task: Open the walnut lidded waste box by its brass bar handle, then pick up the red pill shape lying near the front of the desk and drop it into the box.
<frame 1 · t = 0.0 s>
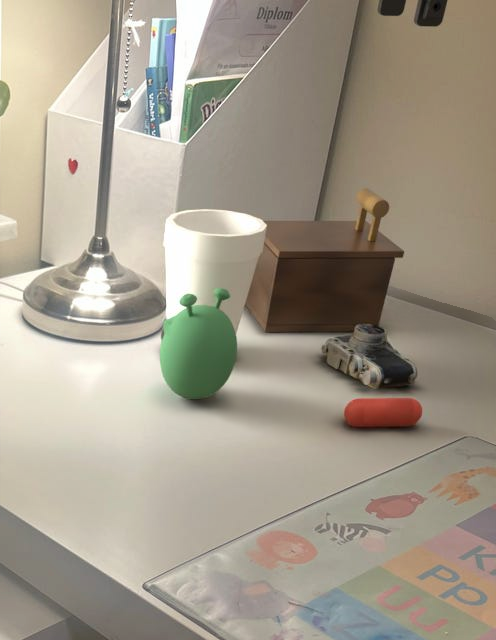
hand: (407, 20, 85), 29 cm above the table, tool pointing down, fingers open, 8 cm apart
camera: (365, 374, 98), on the table
red pill shape: (379, 425, 88), on the table
bin lid: (328, 218, 105), point 10 cm above the table, hinge at 0.0°
bin: (305, 313, 111), on the table
foam cup: (198, 356, 101), on the table
alien toy: (189, 396, 93), on the table
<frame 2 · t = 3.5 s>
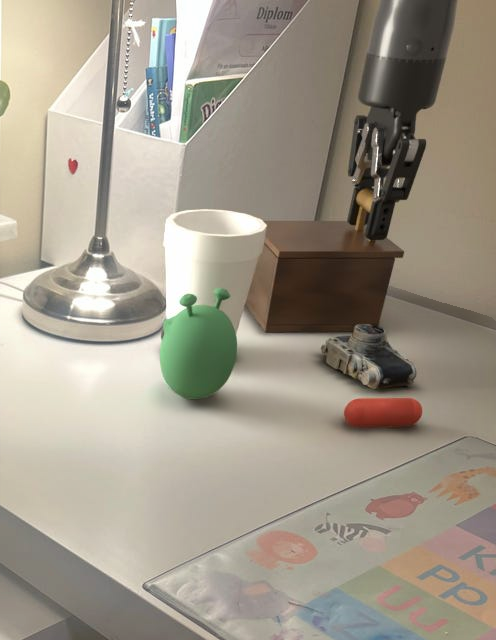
hand: (366, 230, 106), 9 cm above the table, tool pointing down, fingers closed on bin lid, 5 cm apart
bin lid: (328, 218, 105), point 10 cm above the table, hinge at 0.0°, touching gripper
everything else where it was.
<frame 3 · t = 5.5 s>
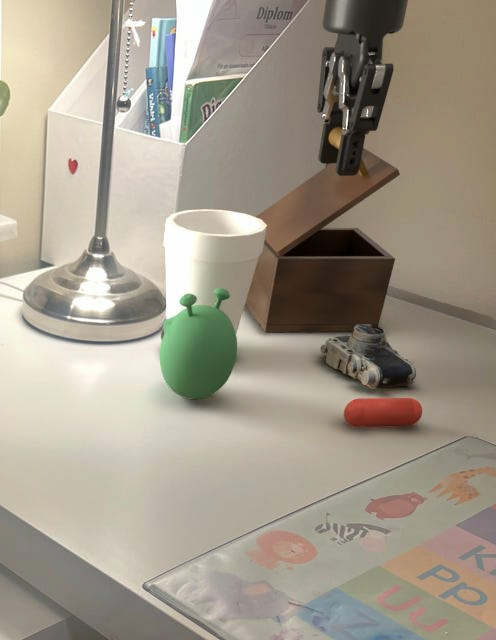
hand: (337, 167, 102), 15 cm above the table, tool pointing down, fingers closed on bin lid, 5 cm apart
bin lid: (311, 182, 103), point 14 cm above the table, hinge at 36.7°, touching gripper
everything else where it was.
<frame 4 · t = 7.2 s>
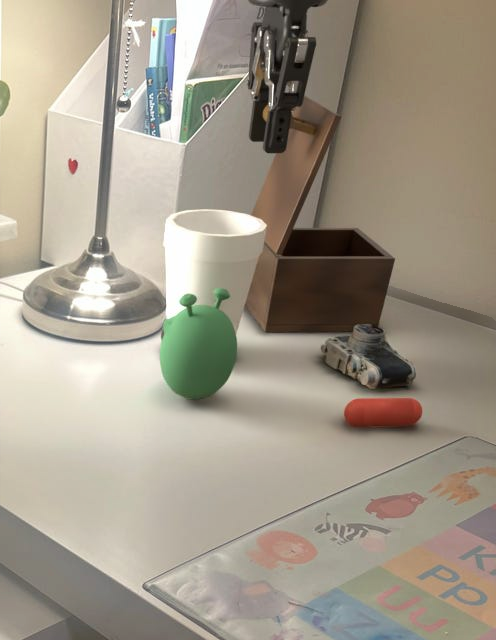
hand: (266, 145, 100), 17 cm above the table, tool pointing down, fingers closed on bin lid, 5 cm apart
bin lid: (272, 168, 101), point 15 cm above the table, hinge at 75.0°, touching gripper
everything else where it was.
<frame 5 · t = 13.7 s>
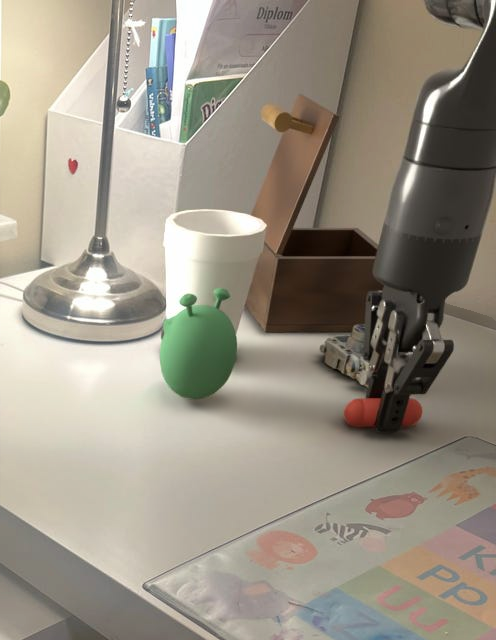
hand: (380, 422, 88), 0 cm above the table, tool pointing down, fingers closed on red pill shape, 2 cm apart
red pill shape: (379, 425, 88), on the table, touching gripper
bin lid: (271, 168, 101), point 15 cm above the table, hinge at 75.8°
everything else where it was.
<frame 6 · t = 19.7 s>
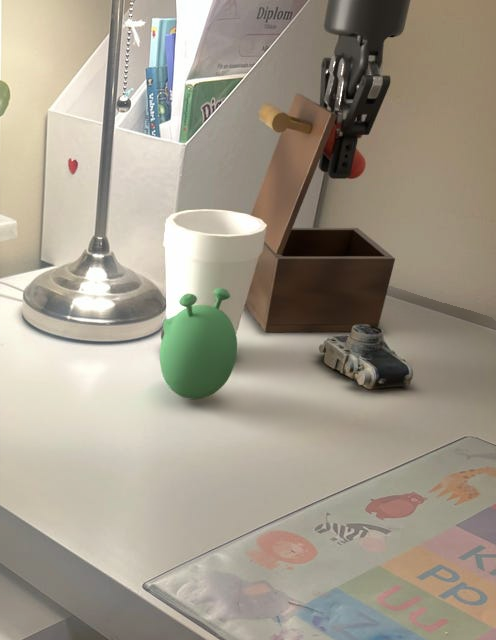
hand: (333, 173, 102), 15 cm above the table, tool pointing down, fingers closed on red pill shape, 2 cm apart
red pill shape: (330, 160, 101), point 16 cm above the table, tilted 39°, touching gripper
bin lid: (270, 168, 101), point 15 cm above the table, hinge at 77.0°
everything else where it was.
when the fingers open (8 cm above the table, at t = 21.7 s): red pill shape drops 8 cm, resting on bin.
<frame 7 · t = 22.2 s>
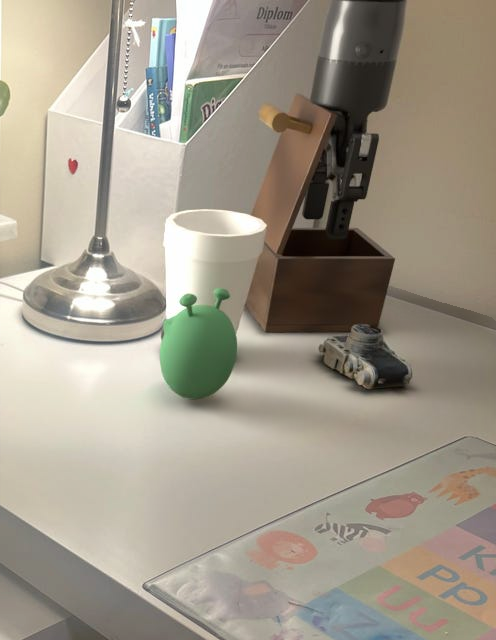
hand: (322, 228, 106), 9 cm above the table, tool pointing down, fingers open, 7 cm apart
red pill shape: (297, 306, 111), point 1 cm above the table, tilted 13°, touching bin
everything else where it was.
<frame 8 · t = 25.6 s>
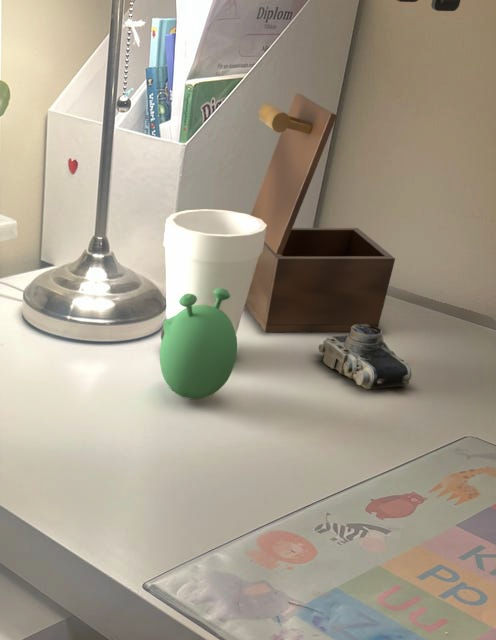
hand: (424, 5, 88), 30 cm above the table, tool pointing down, fingers open, 8 cm apart
red pill shape: (299, 300, 110), point 2 cm above the table, tilted 70°, touching bin
everything else where it was.
at the end: bin lid at +77° (first picture: +0°); red pill shape inside the target area in the bin (1.1 cm from its centre), point 1.6 cm above the bin's base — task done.
